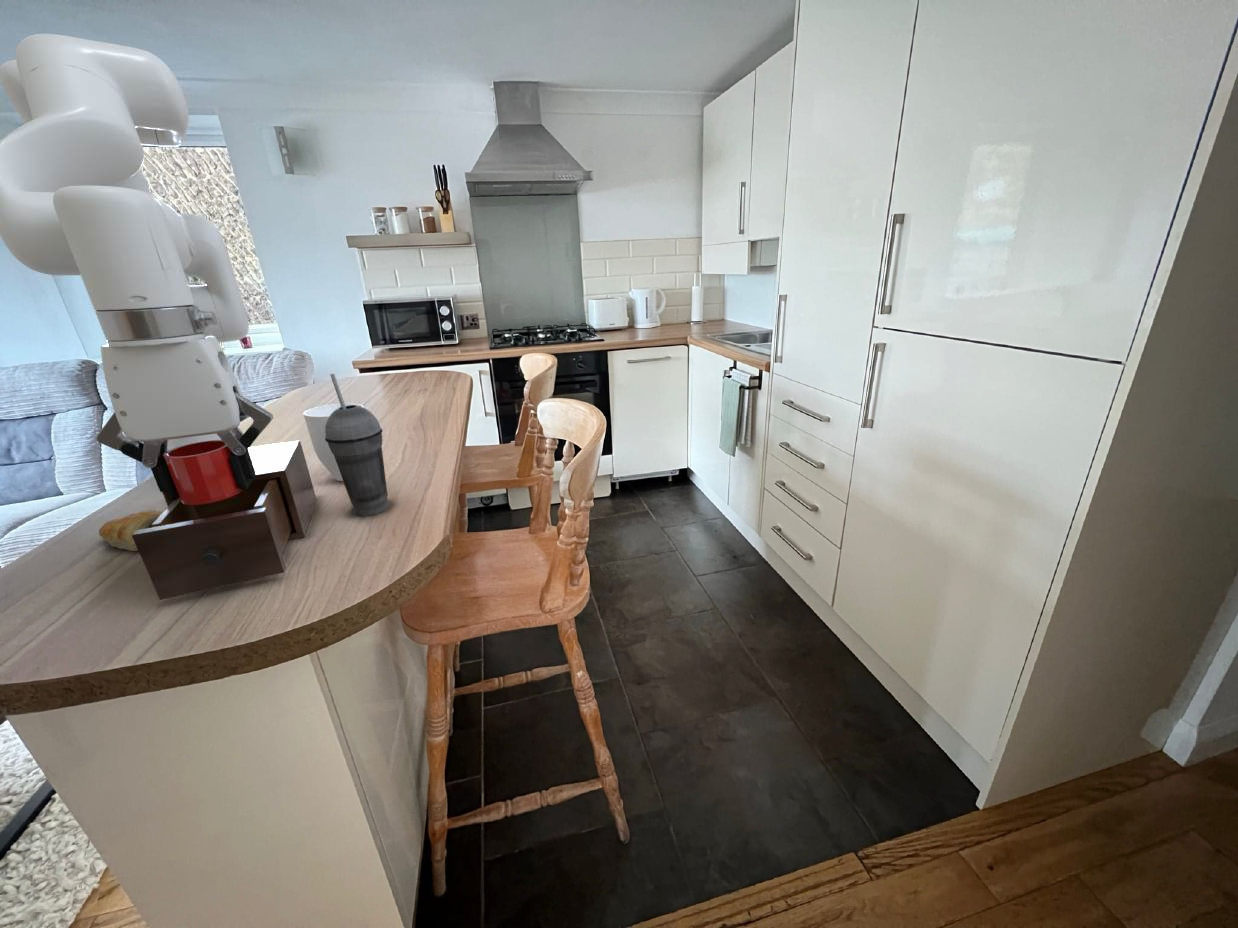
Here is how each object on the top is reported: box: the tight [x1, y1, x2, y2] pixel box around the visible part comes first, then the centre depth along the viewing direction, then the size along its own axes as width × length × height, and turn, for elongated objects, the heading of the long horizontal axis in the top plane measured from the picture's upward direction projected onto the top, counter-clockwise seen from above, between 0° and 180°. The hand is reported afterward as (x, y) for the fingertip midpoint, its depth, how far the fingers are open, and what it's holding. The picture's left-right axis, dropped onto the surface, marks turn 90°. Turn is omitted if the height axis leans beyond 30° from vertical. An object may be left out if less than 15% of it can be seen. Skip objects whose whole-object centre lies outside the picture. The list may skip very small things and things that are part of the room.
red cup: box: [163, 440, 243, 505], centre depth 56 cm, size 6×6×6 cm
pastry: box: [98, 509, 164, 552], centre depth 68 cm, size 9×7×4 cm
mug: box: [302, 402, 365, 482], centre depth 86 cm, size 12×9×12 cm
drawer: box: [132, 477, 293, 601], centre depth 59 cm, size 14×11×8 cm
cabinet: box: [162, 440, 317, 541], centre depth 69 cm, size 14×13×10 cm
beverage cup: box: [325, 373, 389, 517], centre depth 71 cm, size 7×7×20 cm
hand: (212, 489), depth 57 cm, fingers closed on red cup, 5 cm apart
